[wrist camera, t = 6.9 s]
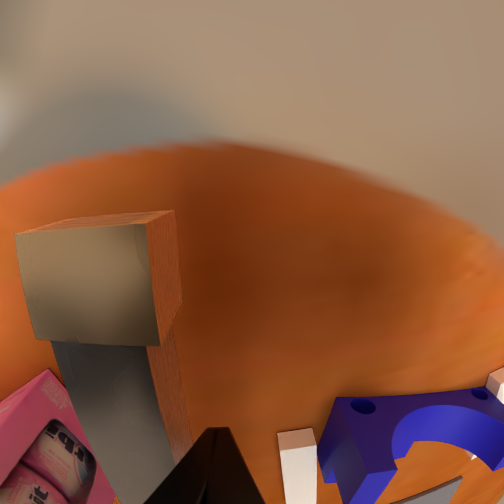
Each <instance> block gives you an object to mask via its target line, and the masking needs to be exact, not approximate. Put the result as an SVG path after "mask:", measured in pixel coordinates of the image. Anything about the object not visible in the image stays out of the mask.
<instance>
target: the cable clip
mask: <svg viewBox="0 0 504 504" xmlns="http://www.w3.org/2000/svg"><path fill="white" fill-rule="evenodd" d="M414 441H438V442H444V443H449V444H452V445H455V446H458V447H461V448H463V449H465V450H467V451H469V452H471V453H473V454H474V455H476V456H477V457H479V458H480V459H481V460H482V461H483V462H485V463H486V464H487V465H488V466H489V467H490V469H491V470H492V471H495V470H498V469H500V468H502V467H504V404H503V403H502V402H501V401H500V400H499V399H498V398H497V397H496V396H495V395H494V394H493V393H492V392H491V391H489V390H488V389H487V388H486V387H485V386H484V387H478V388H471V389H464V390H456V391H447V392H438V393H428V394H416V395H401V396H381V397H336V399H335V402H334V405H333V408H332V411H331V413H330V416H329V419H328V421H327V424H326V427H325V429H324V432H323V435H322V437H321V440H320V442H319V445H318V447H317V456H318V460H319V464H320V468H321V471H322V475H323V479H324V483H336V482H337V485H338V488H339V491H340V495H341V498H342V501H343V504H374V503H375V502H376V500H377V499H378V498H379V496H380V495H381V493H382V492H383V491H384V489H385V488H386V486H387V485H388V483H389V482H390V480H391V479H392V477H393V476H394V474H395V473H396V471H397V470H398V469H397V467H396V464H395V462H394V459H398V458H402V457H405V456H406V454H407V452H408V451H409V449H410V447H411V445H412V444H413V442H414Z"/></svg>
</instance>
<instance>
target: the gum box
mask: <svg viewBox="0 0 504 504" xmlns="http://www.w3.org/2000/svg"><path fill="white" fill-rule="evenodd" d="M115 495H116V494H115V492H114V491H113V489H112V487H111V485H110V484H109V482H108V480H107V478H106V476H105V474H104V473H103V471H102V469H101V467H100V465H99V463H98V461H97V459H96V457H95V455H94V453H93V451H92V449H91V447H90V445H89V442H88V440H87V438H86V436H85V434H84V431H83V429H82V427H81V425H80V422H79V420H78V417H77V415H76V413H75V410H74V408H73V405H72V403H71V400H70V397H69V395H68V392H67V390H66V389H65V388H64V386H63V385H62V384H61V383H60V382H59V381H58V379H57V378H56V377H55V376H54V375H53V373H52V372H51V371H50V370H49V369H46V370H45V371H43V372H42V373H40V374H39V375H38V376H36V377H35V378H33V379H32V380H31V381H29V382H28V383H27V384H25V385H24V386H23V387H21V388H19V389H18V390H16V391H15V392H13V393H12V394H11V395H9V396H8V397H7V398H5V399H4V400H3V401H1V402H0V504H112V503H113V501H114V498H115Z"/></svg>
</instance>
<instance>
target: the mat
mask: <svg viewBox="0 0 504 504" xmlns="http://www.w3.org/2000/svg"><path fill="white" fill-rule="evenodd" d="M462 479H463V478H462V476H459V477H457V478H455V479H453V480H451V481H449V482H446V483H444V484H442V485H440V486H437V487H435V488H432V489H430V490H428V491H425V492H423V493H420V494H417V495H415V496H412V497H409V498H407V499H404V500H401V501H398V502H395V503H392V504H449V502H450V500H451V499H452V497H453V495H454V493H455V492H456V490H457V488H458V486H459V484H460V483H461V481H462Z"/></svg>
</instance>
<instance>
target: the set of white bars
mask: <svg viewBox="0 0 504 504" xmlns="http://www.w3.org/2000/svg"><path fill="white" fill-rule="evenodd" d="M486 388H487V389H488V390H489V391H491V392H492V393H493V394H494V395H495V396H496V397H497V398H498V399H499V400H500V401H501V402H502V403H503V404H504V367H503V368H501V369H498V370H496V371H494V372H492V373H490V374H489V376H488V380H487V383H486ZM277 435H278V443H279V451H280V459H281V467H282V476H283V484H284V492H285V500H286V504H316V486H317V445H316V441H315V437H314V434H313V430H312V428H307V429H301V430H294V431H288V432H281V433H277ZM464 450H465V449H464ZM465 452H466V453H467V454H468V456H469V457H470V459H471V460H472V459H474V458H476V457H477V456H476V455H474V454H473V453H471V452H469V451H467V450H465Z"/></svg>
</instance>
